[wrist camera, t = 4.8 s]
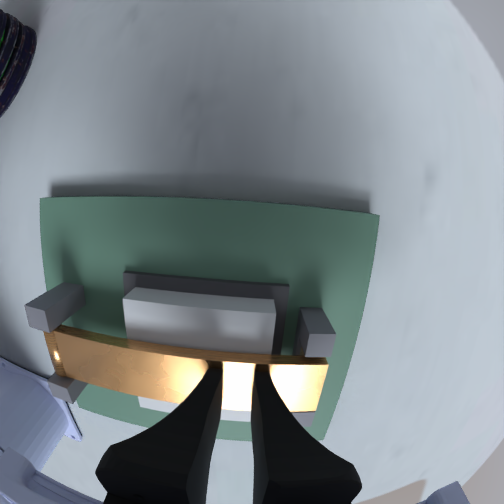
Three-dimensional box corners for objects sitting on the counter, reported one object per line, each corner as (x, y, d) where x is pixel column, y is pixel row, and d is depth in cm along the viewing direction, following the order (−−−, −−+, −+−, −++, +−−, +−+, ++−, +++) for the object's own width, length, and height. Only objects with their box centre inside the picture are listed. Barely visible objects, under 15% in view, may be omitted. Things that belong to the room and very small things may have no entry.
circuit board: (85, 398, 17) (58, 437, 12) (51, 196, 14) (-5, 204, 9) (320, 429, 17) (332, 478, 13) (370, 213, 14) (420, 226, 9)
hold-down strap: (66, 358, 13) (51, 373, 11) (55, 315, 13) (38, 328, 11) (310, 391, 13) (316, 413, 12) (320, 346, 13) (329, 367, 11)
